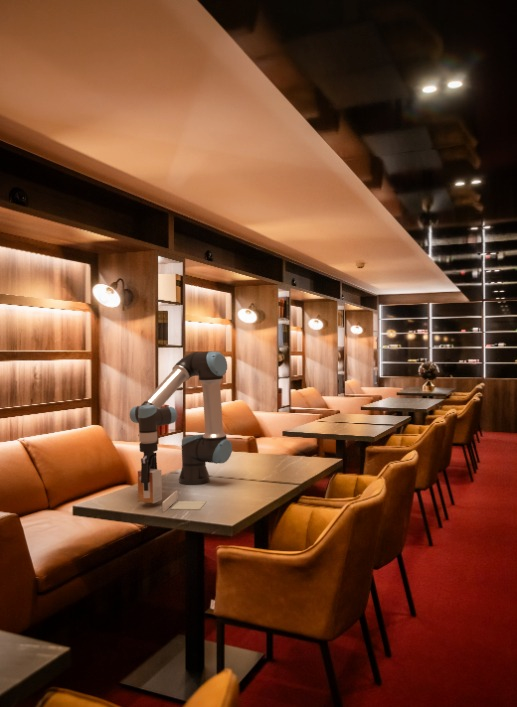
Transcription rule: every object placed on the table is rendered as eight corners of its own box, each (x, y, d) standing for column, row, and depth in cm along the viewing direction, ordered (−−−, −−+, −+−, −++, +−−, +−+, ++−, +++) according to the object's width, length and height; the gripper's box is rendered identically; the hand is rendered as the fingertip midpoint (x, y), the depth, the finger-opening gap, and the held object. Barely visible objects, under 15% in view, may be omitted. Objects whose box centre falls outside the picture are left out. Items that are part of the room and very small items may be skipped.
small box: (138, 501, 250) (137, 470, 250) (147, 498, 255) (146, 468, 255) (153, 503, 246) (152, 472, 246) (162, 499, 252) (161, 469, 251)
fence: (175, 499, 259) (175, 490, 259) (177, 499, 259) (177, 490, 259) (162, 512, 239) (162, 502, 239) (164, 512, 239) (164, 502, 239)
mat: (178, 502, 255) (178, 501, 255) (206, 502, 253) (206, 501, 253) (171, 509, 243) (171, 508, 243) (199, 509, 241) (199, 508, 241)
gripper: (147, 438, 261) (149, 489, 261) (131, 446, 241) (133, 501, 241) (164, 437, 260) (165, 489, 260) (149, 446, 240) (151, 502, 240)
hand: (150, 495), depth 251 cm, fingers closed on small box, 8 cm apart
